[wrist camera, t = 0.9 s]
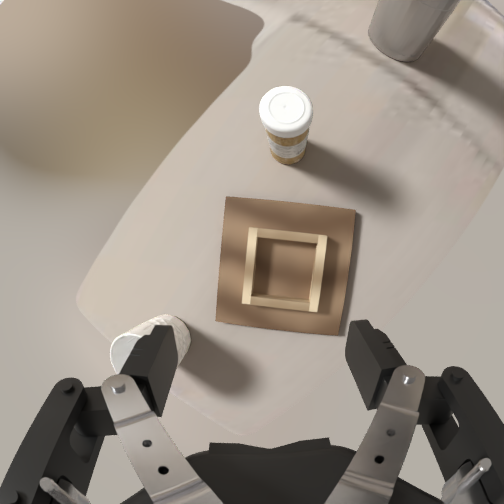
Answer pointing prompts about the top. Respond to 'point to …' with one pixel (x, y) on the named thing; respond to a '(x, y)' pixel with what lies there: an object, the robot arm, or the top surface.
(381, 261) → the top surface
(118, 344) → the white cup
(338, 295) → the holder board
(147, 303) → the top surface
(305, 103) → the sprinkles bottle
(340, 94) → the top surface
